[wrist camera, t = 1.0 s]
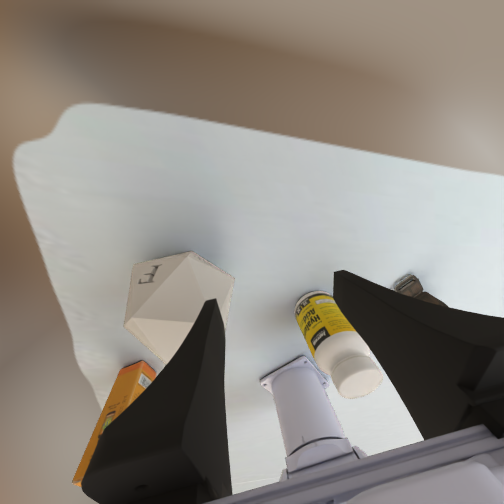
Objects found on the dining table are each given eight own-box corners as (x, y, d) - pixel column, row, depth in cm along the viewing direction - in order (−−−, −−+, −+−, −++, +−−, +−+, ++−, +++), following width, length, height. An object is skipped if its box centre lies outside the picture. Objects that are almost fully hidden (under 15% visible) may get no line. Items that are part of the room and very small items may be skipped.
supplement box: (136, 382, 27) (94, 496, 18) (120, 367, 25) (65, 484, 16) (159, 373, 27) (129, 483, 18) (144, 358, 25) (103, 470, 16)
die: (241, 246, 21) (180, 238, 12) (251, 331, 21) (195, 396, 11) (175, 256, 24) (81, 256, 14) (182, 332, 23) (89, 385, 14)
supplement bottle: (299, 287, 24) (345, 363, 15) (339, 290, 25) (404, 362, 16) (288, 322, 26) (322, 406, 17) (325, 323, 27) (376, 402, 18)
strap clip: (432, 305, 29) (465, 328, 25) (414, 318, 29) (443, 342, 26) (411, 271, 25) (445, 291, 22) (391, 286, 26) (420, 308, 22)
